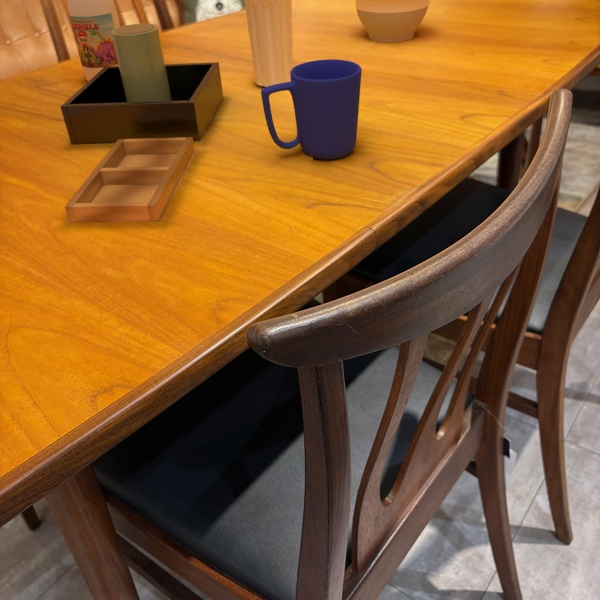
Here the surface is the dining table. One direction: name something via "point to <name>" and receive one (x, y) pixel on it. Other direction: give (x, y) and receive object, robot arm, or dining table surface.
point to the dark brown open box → (144, 107)
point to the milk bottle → (94, 33)
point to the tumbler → (141, 63)
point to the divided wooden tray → (133, 181)
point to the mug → (321, 107)
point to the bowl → (391, 18)
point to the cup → (270, 40)
